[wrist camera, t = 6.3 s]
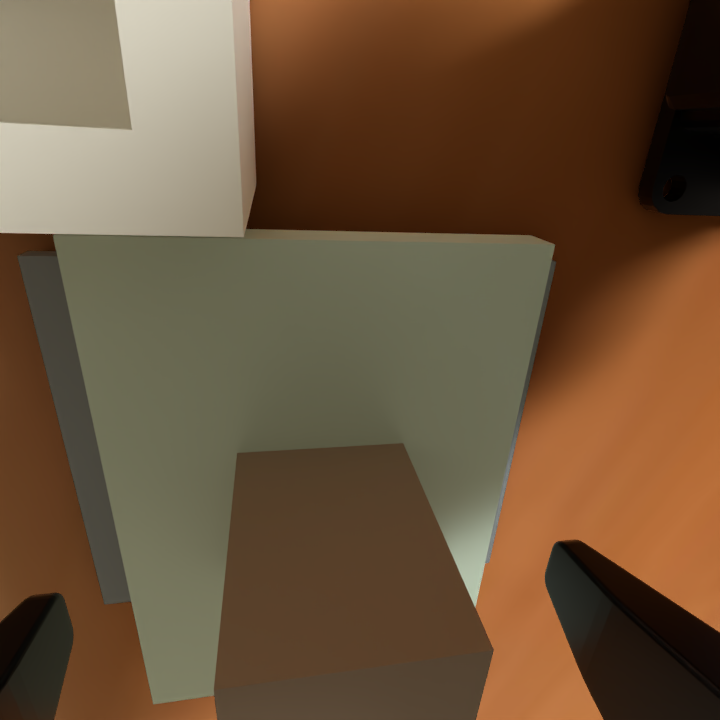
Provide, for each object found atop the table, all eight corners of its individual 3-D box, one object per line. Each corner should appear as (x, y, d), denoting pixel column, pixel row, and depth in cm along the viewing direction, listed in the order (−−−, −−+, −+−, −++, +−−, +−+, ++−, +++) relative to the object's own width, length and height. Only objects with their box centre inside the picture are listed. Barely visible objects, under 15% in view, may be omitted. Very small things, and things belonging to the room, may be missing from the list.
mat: (546, 256, 10) (556, 261, 10) (483, 551, 14) (489, 562, 13) (28, 250, 8) (16, 255, 8) (109, 590, 12) (104, 604, 12)
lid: (441, 597, 14) (545, 879, 8) (168, 630, 12) (96, 986, 7) (505, 225, 9) (801, 338, 4) (96, 215, 8) (-219, 360, 3)
